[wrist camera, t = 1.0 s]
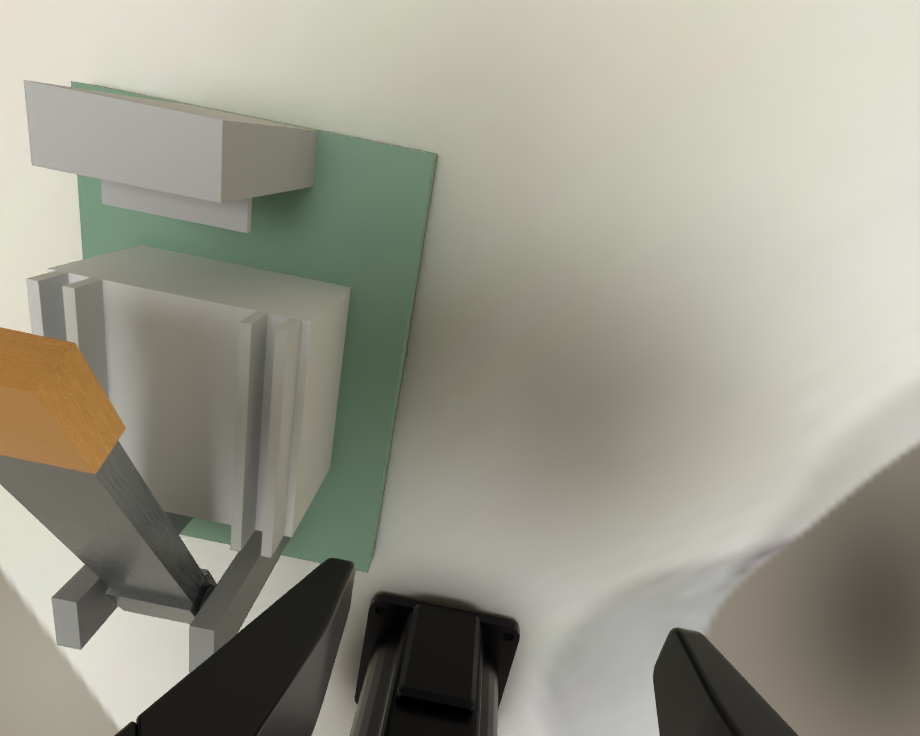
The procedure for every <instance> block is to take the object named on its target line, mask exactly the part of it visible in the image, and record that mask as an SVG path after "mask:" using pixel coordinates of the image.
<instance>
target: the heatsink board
mask: <svg viewBox="0 0 920 736" xmlns="http://www.w3.org/2000/svg"><path fill="white" fill-rule="evenodd" d="M24 88H25V99H26V109H27V119H28V130H29V140H30V151H31V161H32V165H34V166H38V167H43V168H48V169H53V170H58V171H63V172H68V173H73V174H77V177H78V192H79V207H80V221H81V236H82V251H83V260H80V261H76V262H72V263H68V264H64V265H60V266H56V267H52V268H48V273H46V274H42V275H38V276H35V277H31V278H27V279H26V282H27V291H28V301H29V310H30V319H31V328H32V334H34V335H39V336H44V337H49V338H54V339H59V340H64V341H69V342H74V343H76V345H77V347H78V348H79V350H80V352H81V353H82V355H83V357H84V358H85V360H86V362H87V363H88V365H89V367H90V368H91V370H92V372H93V373H94V375H95V377H96V378H97V380H98V382H99V383H100V385H101V387H102V388H103V390H104V392H105V393H106V395H107V397H108V398H109V400H110V402H111V403H112V405H113V407H114V408H115V410H116V412H117V413H118V415H119V417H120V418H121V420H122V422H123V424H124V425H125V427H126V429H125V431H124V432H123V434H122V435H121V437H120V438H119V440H118V441H119V442H120V444H121V445H122V447H123V449H124V450H125V452H126V453H127V455H128V456H129V458H130V460H131V461H132V463H133V464H134V466H135V467H136V469H137V471H138V472H139V474H140V475H141V477H142V478H143V480H144V482H145V483H146V485H147V486H148V488H149V489H150V491H151V493H152V494H153V496H154V497H155V499H156V500H157V502H158V503H159V505H160V507H161V508H162V510H163V511H164V513H165V514H166V516H167V518H168V519H169V521H170V522H171V524H172V525H173V527H174V529H175V530H176V532H177V533H178V535H179V534H181V535H186V536H190V537H195V538H200V539H205V540H210V541H215V542H220V543H225V544H230V545H231V548H230V550H235V551H239V552H238V554H237V555H236V557H235V558H234V560H233V561H232V563H231V564H230V566H229V567H228V569H227V570H226V572H225V573H224V575H223V576H222V578H221V579H220V581H219V582H218V584H217V585H216V587H215V588H214V590H213V591H212V593H211V594H210V596H209V597H208V599H207V600H206V602H205V603H204V605H203V606H202V608H201V609H200V611H199V612H198V614H197V615H196V617H195V618H194V620H193V621H192V623H191V624H190V626H189V672H192V671H193V670H194V669H195V668H197V667H198V666H199V665H200V664H201V663H203V662H204V661H205V660H206V659H207V658H209V657H210V656H211V655H212V654H213V653H215V652H216V651H217V650H218V649H219V648H221V647H222V646H223V645H224V644H225V643H227V642H228V641H229V640H230V639H232V638H233V637H234V636H235V635H236V634H237V633H238V631H239V629H240V627H241V626H242V624H243V622H244V620H245V618H246V617H247V615H248V613H249V611H250V609H251V608H252V606H253V604H254V602H255V600H256V599H257V597H258V595H259V593H260V591H261V590H262V588H263V586H264V584H265V582H266V581H267V579H268V577H269V575H270V573H271V572H272V570H273V568H274V566H275V565H276V563H277V561H278V559H279V557H280V556H281V555H284V556H289V557H294V558H299V559H304V560H308V561H313V562H318V563H323V562H324V561H325V560H327V559H328V558H332V557H333V558H338V559H343V560H348V561H352V562H354V564H355V570H358V571H363V572H367V573H368V571H369V568H370V565H371V561H372V558H373V555H374V549H375V542H376V536H377V530H378V524H379V517H380V511H381V505H382V499H383V492H384V486H385V480H386V473H387V467H388V461H389V455H390V448H391V442H392V436H393V430H394V423H395V417H396V411H397V405H398V398H399V392H400V386H401V380H402V373H403V367H404V361H405V355H406V348H407V342H408V336H409V330H410V323H411V317H412V311H413V304H414V298H415V292H416V286H417V279H418V273H419V267H420V261H421V254H422V248H423V242H424V236H425V229H426V223H427V217H428V211H429V204H430V198H431V192H432V186H433V179H434V173H435V167H436V160H437V154H435V153H430V152H425V151H420V150H415V149H410V148H405V147H400V146H395V145H390V144H385V143H380V142H375V141H370V140H365V139H360V138H355V137H350V136H345V135H340V134H335V133H330V132H325V131H320V130H315V129H310V128H305V127H301V126H296V125H291V124H286V123H281V122H276V121H271V120H266V119H261V118H256V117H251V116H246V115H241V114H236V113H231V112H226V111H221V110H216V109H211V108H206V107H201V106H196V105H191V104H186V103H181V102H176V101H171V100H166V99H161V98H156V97H151V96H146V95H141V94H136V93H131V92H126V91H121V90H116V89H111V88H107V87H102V86H97V85H91V84H85V83H79V82H73V81H71V87H66V86H60V85H53V84H46V83H39V82H33V81H26V80H24ZM108 587H109V586H108V585H107V584H106V583H104V582H103V581H102V580H101V579H100V578H99V577H98V576H97V575H96V574H95V573H94V572H93V571H92V570H91V569H90V568H89V567H88V566H86V565H84V566H83V567H82V568H81V569H80V570H79V571H78V572H77V573H76V574H75V575H74V576H73V577H72V578H71V579H70V580H69V581H68V582H67V583H66V584H65V585H64V586H63V587H62V588H61V589H60V590H59V591H58V592H57V593H56V594H55V595H54V596H53V597H52V605H53V614H54V622H55V631H56V640H57V645H60V646H65V647H70V648H75V649H79V650H81V649H82V648H83V647H84V645H85V644H86V643H87V642H88V641H89V640H90V638H91V637H92V636H93V635H94V634H95V633H96V631H97V630H98V629H99V628H100V627H101V626H102V624H103V623H104V622H105V621H106V620H107V618H108V617H109V616H110V615H111V614H112V613H113V611H114V610H115V609H116V608H117V607H118V605H117V604H116V603H115V602H114V601H113V600H111V599H110V598H109V597H108V596H107V595H106V594H105V593H106V591H107V589H108Z"/></svg>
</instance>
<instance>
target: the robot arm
mask: <svg viewBox="0 0 920 736" xmlns="http://www.w3.org/2000/svg"><path fill="white" fill-rule="evenodd" d="M354 576H355V564H354V562H352V561H348V560H343V559H338V558H333V557H332V558H328V559H327V560H325V561H324V562H323V563H322V564H320V565H319V566H318V567H317V568H316V569H314V570H313V571H312V572H311V573H310V574H308V575H307V576H306V577H305V578H304V579H302V580H301V581H300V582H299V583H298V584H296V585H295V586H294V587H293V588H292V589H290V590H289V591H288V592H287V593H286V594H284V595H283V596H282V597H281V598H280V599H278V600H277V601H276V602H275V603H274V604H272V605H271V606H270V607H269V608H268V609H266V610H265V611H264V612H263V613H262V614H260V615H259V616H258V617H257V618H256V619H254V620H253V621H252V622H251V623H250V624H248V625H247V626H246V627H245V628H244V629H242V630H241V631H240V632H239V633H238V634H236V635H235V636H234V637H233V638H232V639H230V640H229V641H228V642H227V643H225V644H224V645H223V646H222V647H221V648H219V649H218V650H217V651H216V652H215V653H213V654H212V655H211V656H210V657H209V658H207V659H206V660H205V661H204V662H203V663H201V664H200V665H199V666H198V667H197V668H195V669H194V670H193V671H192V672H191V673H189V674H188V675H187V676H186V677H185V678H183V679H182V680H181V681H180V682H179V683H177V684H176V685H175V686H174V687H173V688H171V689H170V690H169V691H168V692H167V693H165V694H164V695H163V696H162V697H161V698H159V699H158V700H157V701H156V702H155V703H153V704H152V705H151V706H150V707H149V708H147V709H146V710H145V711H144V712H143V713H141V714H140V715H139V716H138V717H137V719H136V723H135V722H130V723H129V724H128V725H126V726H125V727H124V728H123V729H122V730H120V731H119V732H118V733H117V734H116V735H115V736H311V735H312V732H313V730H314V727H315V724H316V722H317V719H318V716H319V713H320V709H321V706H322V703H323V700H324V696H325V693H326V689H327V686H328V683H329V679H330V676H331V672H332V669H333V665H334V662H335V658H336V655H337V651H338V648H339V645H340V641H341V638H342V634H343V631H344V627H345V624H346V620H347V617H348V613H349V608H350V603H351V596H352V589H353V582H354ZM379 606H383V607H385V608H381V607H379ZM505 632H511V633H505ZM519 639H520V629H519V626H518V624H517V623H515V622H514V621H511V620H506V619H501V618H497V617H492V616H487V615H482V614H477V613H472V612H467V611H462V610H457V609H452V608H447V607H442V606H438V605H433V604H428V603H423V602H418V601H413V600H408V599H403V598H398V597H393V596H388V595H381V594H380V595H376V596H375V597H373V599H372V601H371V604H370V608H369V613H368V619H367V626H366V632H365V638H364V644H363V650H362V656H361V662H360V668H359V674H358V681H357V687H356V693H355V702H356V703H357V704H358V706H357V709H356V713H355V717H354V721H353V724H352V728H351V732H350V736H497V727H498V708H499V705H500V701H501V698H502V695H503V692H504V688H505V685H506V682H507V678H508V675H509V672H510V669H511V665H512V662H513V659H514V655H515V652H516V649H517V646H518V642H519ZM653 682H654V691H655V699H656V708H657V716H658V725H659V733H660V736H798V735H797V734H796V732H794V730H793V729H792V728H791V727H790V726H789V725H788V724H787V723H786V722H785V721H784V720H783V719H782V718H781V717H780V716H779V714H778V713H777V712H776V711H775V710H774V709H773V708H772V707H771V706H770V705H769V704H768V703H767V702H766V701H765V700H764V699H763V698H762V696H761V695H760V694H759V693H758V692H757V691H756V690H755V689H754V688H753V687H752V686H751V685H750V684H749V683H748V682H747V680H745V678H744V677H743V676H742V675H741V674H740V673H739V672H738V671H737V670H736V669H735V668H734V667H733V666H732V665H731V663H729V661H728V660H727V659H726V658H725V657H724V656H723V655H722V654H721V653H720V652H719V651H718V650H717V649H716V648H715V647H714V645H713V644H712V643H711V642H710V641H709V640H708V639H707V638H706V637H705V636H704V635H703V634H701V633H700V632H697V631H693V630H688V629H683V628H673V629H672V630H671V631H670V632H669V634H668V636H667V638H666V641H665V643H664V645H663V647H662V650H661V652H660V654H659V657H658V659H657V661H656V664H655V667H654V673H653Z"/></svg>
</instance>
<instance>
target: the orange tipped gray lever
mask: <svg viewBox="0 0 920 736" xmlns="http://www.w3.org/2000/svg"><path fill="white" fill-rule="evenodd" d="M125 429H126V427H125V425H124V424H123V422H122V420H121V418H120V417H119V415H118V413H117V412H116V410H115V408H114V407H113V405H112V403H111V402H110V400H109V398H108V397H107V395H106V393H105V392H104V390H103V388H102V387H101V385H100V383H99V382H98V380H97V378H96V377H95V375H94V373H93V372H92V370H91V368H90V367H89V365H88V363H87V362H86V360H85V358H84V357H83V355H82V353H81V352H80V350H79V348H78V347H77V345H76V343H74V342H69V341H64V340H59V339H54V338H49V337H44V336H39V335H34V334H29V333H25V332H20V331H15V330H10V329H5V328H0V484H1V485H2V486H3V487H4V488H5V489H6V490H7V491H8V492H9V493H10V494H11V495H13V496H14V497H15V498H16V499H17V500H18V501H19V502H20V503H21V504H22V505H23V506H24V507H25V508H26V509H27V510H28V511H29V512H30V513H32V514H33V515H34V516H35V517H36V518H37V519H38V520H39V521H40V522H41V523H42V524H43V525H44V526H45V527H46V528H47V529H48V530H50V531H51V532H52V533H53V534H54V535H55V536H56V537H57V538H58V539H59V540H60V541H61V542H62V543H63V544H64V545H65V546H66V547H67V548H69V549H70V550H71V551H72V552H73V553H74V554H75V555H76V556H77V557H78V558H79V559H80V560H81V561H82V562H83V563H84V564H85V565H86V566H88V567H89V568H90V569H91V570H92V571H93V572H94V573H95V574H96V575H97V576H98V577H99V578H100V579H101V580H102V581H103V582H104V583H106V584H107V585H108V586H109V587H108V589H107V591H106V593H105V594H106V595H107V596H108V597H109V598H110V599H111V600H113V601H114V602H115V603H116V604H117V605H118V606H119V607H120V608H121V609H123V610H124V611H129V612H134V613H139V614H144V615H149V616H154V617H159V618H164V619H168V620H173V621H178V622H183V623H188V624H191V623H192V621H193V620H194V618H195V617H196V615H197V614H198V612H199V611H200V609H201V608H202V606H203V605H204V603H205V602H206V600H207V599H208V597H209V596H210V594H211V593H212V591H213V590H214V588H215V587H216V585H217V584H216V582H215V581H214V579H213V577H212V576H211V574H210V572H209V571H208V570H205V569H200V568H199V566H198V565H197V563H196V562H195V560H194V558H193V557H192V555H191V554H190V552H189V551H188V549H187V547H186V546H185V544H184V543H183V541H182V540H181V538H180V536H179V535H178V533H177V532H176V530H175V529H174V527H173V525H172V524H171V522H170V521H169V519H168V518H167V516H166V514H165V513H164V511H163V510H162V508H161V507H160V505H159V503H158V502H157V500H156V499H155V497H154V496H153V494H152V493H151V491H150V489H149V488H148V486H147V485H146V483H145V482H144V480H143V478H142V477H141V475H140V474H139V472H138V471H137V469H136V467H135V466H134V464H133V463H132V461H131V460H130V458H129V456H128V455H127V453H126V452H125V450H124V449H123V447H122V445H121V444H120V442H119V441H118V440H119V438H120V437H121V435H122V434H123V432H124V431H125Z"/></svg>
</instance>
